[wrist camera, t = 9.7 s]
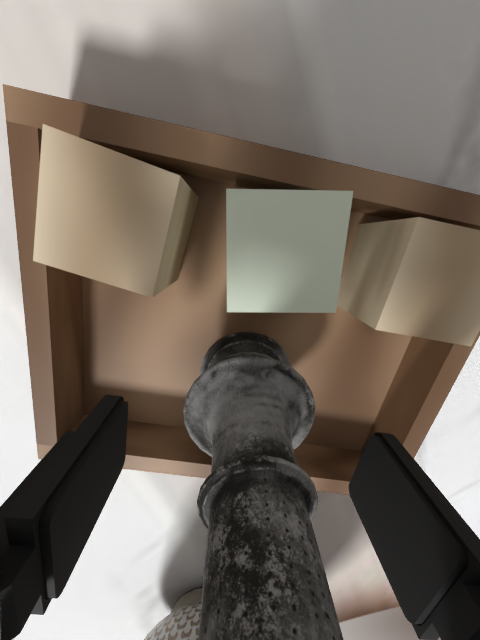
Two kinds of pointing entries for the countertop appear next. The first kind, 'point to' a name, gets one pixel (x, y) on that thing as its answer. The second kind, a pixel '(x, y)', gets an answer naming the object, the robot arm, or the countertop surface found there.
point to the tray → (217, 303)
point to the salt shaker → (257, 497)
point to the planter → (180, 619)
